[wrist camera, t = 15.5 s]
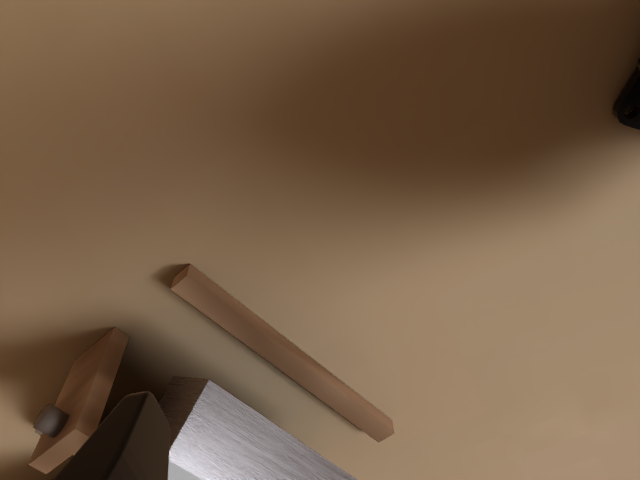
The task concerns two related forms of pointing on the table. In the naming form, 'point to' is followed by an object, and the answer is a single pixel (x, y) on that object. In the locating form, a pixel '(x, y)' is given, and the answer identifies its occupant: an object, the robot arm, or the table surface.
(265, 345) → the trapdoor frame
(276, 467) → the trapdoor
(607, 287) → the table surface
